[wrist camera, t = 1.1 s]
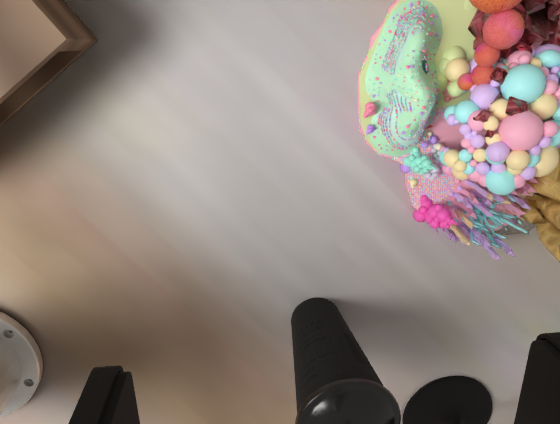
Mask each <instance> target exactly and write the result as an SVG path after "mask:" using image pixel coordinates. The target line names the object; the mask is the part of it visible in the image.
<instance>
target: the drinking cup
mask: <svg viewBox="0 0 560 424" xmlns="http://www.w3.org/2000/svg"><path fill="white" fill-rule="evenodd" d="M291 325H292V340H293V355H294V370H295V384H296V399H297V417H296V421H295V424H400V421H401V414H400V409H399V406H398V403H397V401H396V399H395V398H394V396H393V395H392V393H391V392H390V391H389V390H387V389H386V388H385V387H384V386H383V384H382V383H381V381H380V379H379V378H378V376H377V374H376V373H375V371H374V369H373V368H372V366H371V364H370V362H369V361H368V359H367V357H366V356H365V354H364V352H363V351H362V349H361V347H360V346H359V344H358V342H357V341H356V339H355V337H354V336H353V334H352V332H351V331H350V329H349V327H348V326H347V324H346V322H345V321H344V319H343V317H342V316H341V314H340V312H339V311H338V309H337V307H336V306H335V305H334V304H333V303H332V302H331V301H329V300H326V299H323V298H312V299H308V300H306V301H304V302H302V303H301V304H300V305H298V306H297V308H296V309H295V310H294V312H293V314H292V318H291Z"/></svg>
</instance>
